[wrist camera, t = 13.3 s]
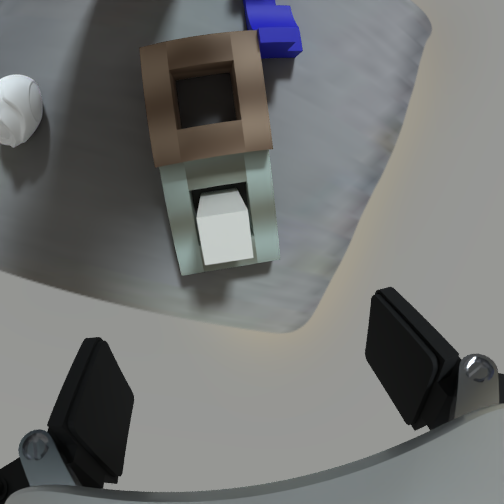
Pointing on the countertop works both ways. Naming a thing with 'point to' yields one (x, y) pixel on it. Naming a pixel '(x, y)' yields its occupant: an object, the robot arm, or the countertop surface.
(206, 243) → the peg
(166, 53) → the socket block
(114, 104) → the countertop surface
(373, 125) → the countertop surface
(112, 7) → the countertop surface
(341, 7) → the countertop surface
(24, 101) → the white round lump
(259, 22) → the blue curved block
